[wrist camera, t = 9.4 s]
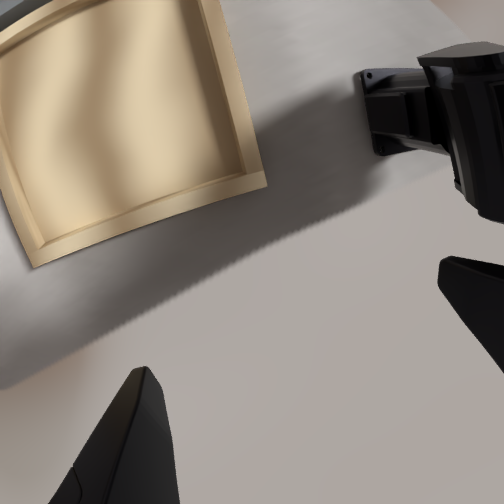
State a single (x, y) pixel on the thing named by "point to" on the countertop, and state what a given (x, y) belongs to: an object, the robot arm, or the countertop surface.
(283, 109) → the countertop surface
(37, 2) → the tray
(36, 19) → the dish
